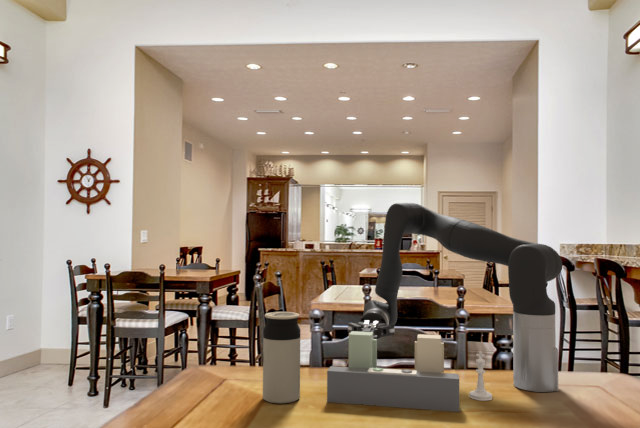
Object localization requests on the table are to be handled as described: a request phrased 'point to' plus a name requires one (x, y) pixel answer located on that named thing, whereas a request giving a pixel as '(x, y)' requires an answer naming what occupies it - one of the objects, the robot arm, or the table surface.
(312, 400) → the table surface
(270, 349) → the travel mug
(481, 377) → the chess piece
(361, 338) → the sage key
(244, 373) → the table surface
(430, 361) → the sand key
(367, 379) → the console
